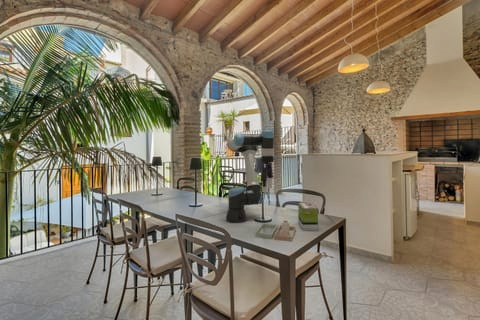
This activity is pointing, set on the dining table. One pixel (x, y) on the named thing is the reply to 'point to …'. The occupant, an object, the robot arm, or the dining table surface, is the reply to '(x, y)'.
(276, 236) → the tray
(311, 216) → the tea box
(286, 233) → the letter block
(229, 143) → the robot arm
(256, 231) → the tray
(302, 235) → the dining table surface
